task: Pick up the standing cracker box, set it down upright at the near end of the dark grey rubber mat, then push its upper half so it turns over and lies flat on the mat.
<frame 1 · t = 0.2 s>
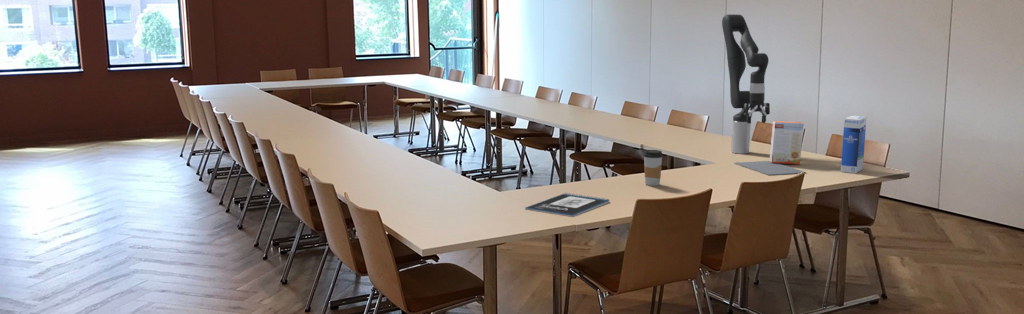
hand: (756, 123, 452), 18 cm above the table, tool pointing down, fingers open, 8 cm apart
mat: (769, 168, 423), on the table
sketchbook: (568, 207, 345), on the table
blue cardboard box: (852, 171, 417), on the table
cracker box: (784, 163, 435), on the table, touching mat
coffee cup: (652, 185, 385), on the table
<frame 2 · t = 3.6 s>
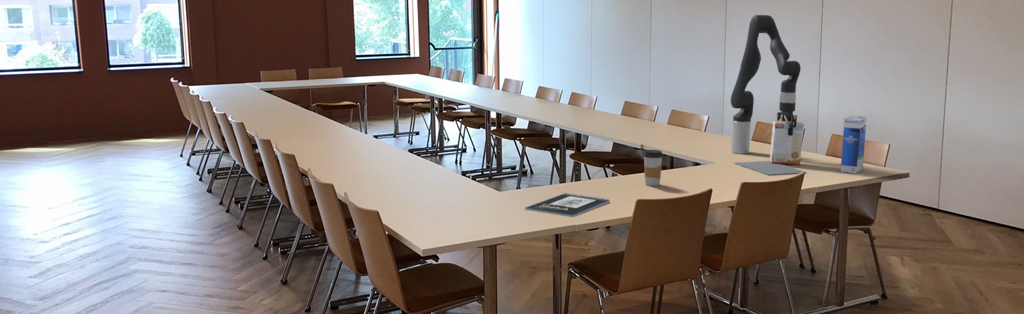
hand: (785, 134, 433), 15 cm above the table, tool pointing down, fingers closed on cracker box, 7 cm apart
cracker box: (784, 163, 435), on the table, touching gripper, mat
everything else where it was.
when the fingers open (16 cm above the table, at t = 9.2 s): cracker box drops 1 cm, resting on hand, mat.
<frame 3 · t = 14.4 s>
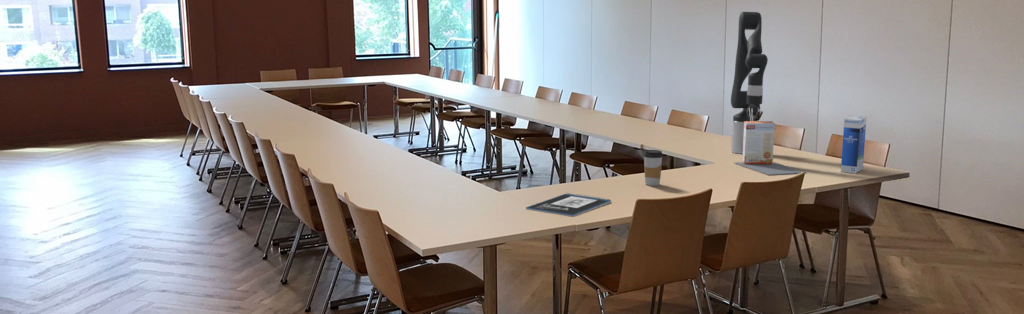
hand: (753, 128, 435), 17 cm above the table, tool pointing down, fingers closed
cracker box: (757, 163, 434), resting on mat, touching gripper, hand
everything else where it was.
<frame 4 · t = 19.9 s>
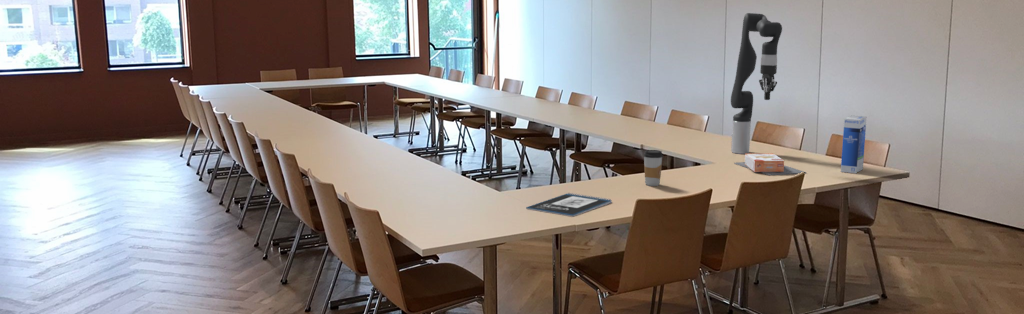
hand: (767, 99, 422), 33 cm above the table, tool pointing down, fingers closed
cracker box: (758, 158, 430), point 4 cm above the table, touching mat
everything else where it was.
at the end: cracker box tilted 91°; cracker box inside the target area (10.9 cm from its centre), point 3.6 cm above the table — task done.
